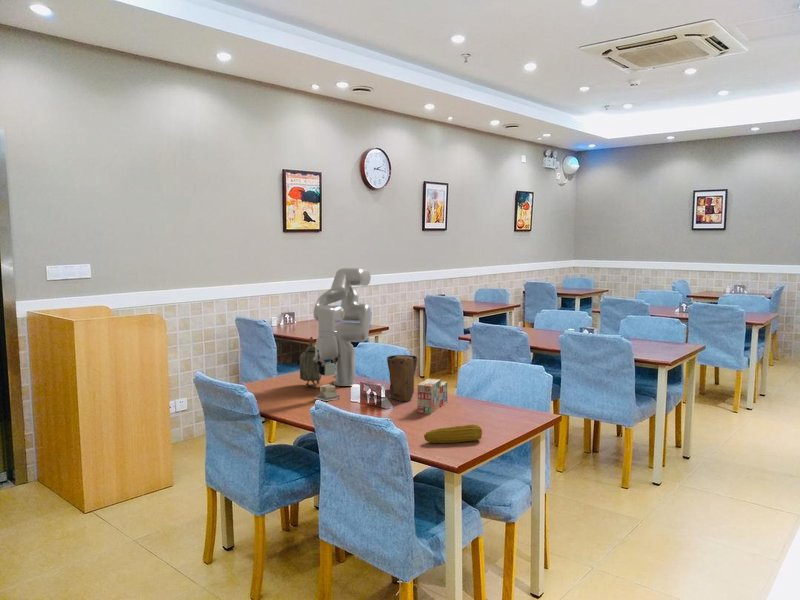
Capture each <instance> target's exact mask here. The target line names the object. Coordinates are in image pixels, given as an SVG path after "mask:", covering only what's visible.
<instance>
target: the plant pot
mask: <svg viewBox="0 0 800 600" xmlns="http://www.w3.org/2000/svg"><path fill="white" fill-rule="evenodd" d="M398 355H399V354H396V355H395V354H394V355H389V356H386V361H387V367H388V368H387V369H388V372H389V373H388V374H390V362H391V360H392V358H394V357H395V356H398ZM405 355H406V356H409V357H412V358H413V362H414V376H415V375H416V369H417V363H418V357H417V356H415V355H411V354H405Z"/></svg>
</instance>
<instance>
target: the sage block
mask: <svg viewBox="0 0 800 600" xmlns="http://www.w3.org/2000/svg"><path fill="white" fill-rule="evenodd" d="M324 366H325V375H323V376H325V377H328V376H334V375H336V364H334V363H330V361H329V362H324ZM320 375H321V374H320Z"/></svg>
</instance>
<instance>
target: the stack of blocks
mask: <svg viewBox="0 0 800 600" xmlns="http://www.w3.org/2000/svg"><path fill="white" fill-rule="evenodd" d="M441 380H442V379H436V378H426V379H425V380H423V381H422V382H420V383H418V384H417V413H418V414H426V413H427V414H428V415H432V414H434V413H435V412H436V411H437V409H438V408H439V407H440V406H441V405H442V406H444V405H445V404H446V403H445V402H446V401H447V402H448V381H441ZM444 403H445V404H444ZM443 404H444V405H443ZM442 406H441V407H442ZM441 407H440V408H441ZM440 408H439V409H440ZM439 409H438V410H439ZM435 410H436V411H435ZM434 411H435V412H434Z"/></svg>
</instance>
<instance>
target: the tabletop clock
mask: <svg viewBox="0 0 800 600" xmlns="http://www.w3.org/2000/svg"><path fill="white" fill-rule="evenodd" d="M313 341H314V339H313V337H312V336H310V338H309V346H307V348H306V349H305V351H303V352H302V353H301V354H300V356H299V378H300V380H302V381H304V382H307V383H305V386H306V387H309V386H310V384H309V382H311V383H312V385H313V389H314V388H315V389H314V390H316V389H317V385H316V384H317V383H319V384H320V382H321V381H320V380H321V378H322V376H323V375H320V373H319V366H318V364H317V363H316V362H315V361H314V360H313V359H314V357H315V347H316V346H313V344H314V343H313ZM318 360H319V359H318ZM321 362H322V361H321ZM315 382H316V384H315Z"/></svg>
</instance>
